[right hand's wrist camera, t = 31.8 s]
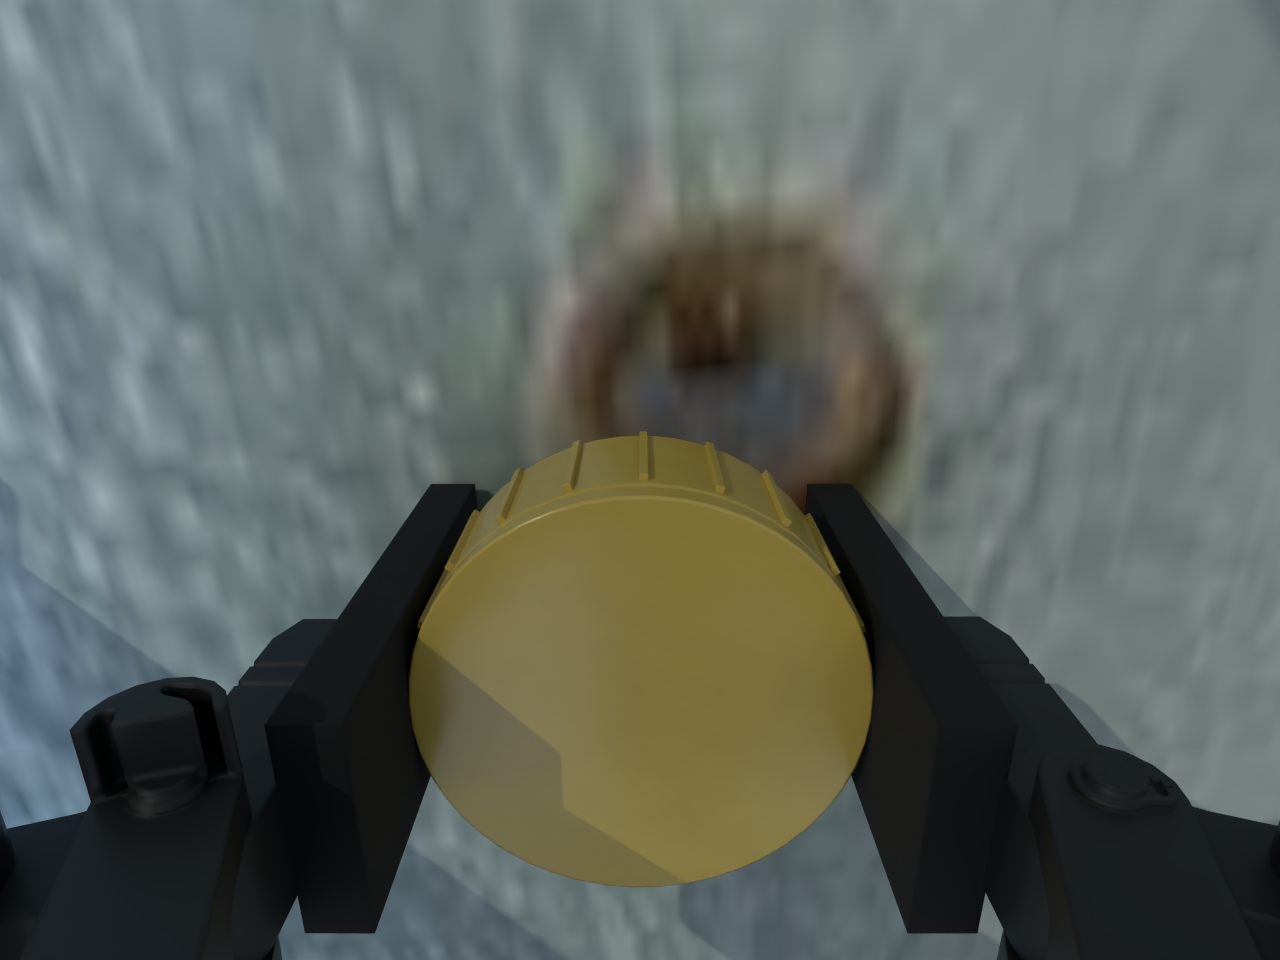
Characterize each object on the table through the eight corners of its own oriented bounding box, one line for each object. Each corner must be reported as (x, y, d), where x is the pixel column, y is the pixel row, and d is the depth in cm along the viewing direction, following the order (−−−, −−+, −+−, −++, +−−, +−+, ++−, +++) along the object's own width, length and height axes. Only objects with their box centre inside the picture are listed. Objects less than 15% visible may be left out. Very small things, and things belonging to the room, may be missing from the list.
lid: (785, 794, 13) (813, 916, 11) (431, 746, 13) (389, 860, 11) (881, 466, 11) (939, 535, 9) (465, 398, 11) (421, 453, 9)
